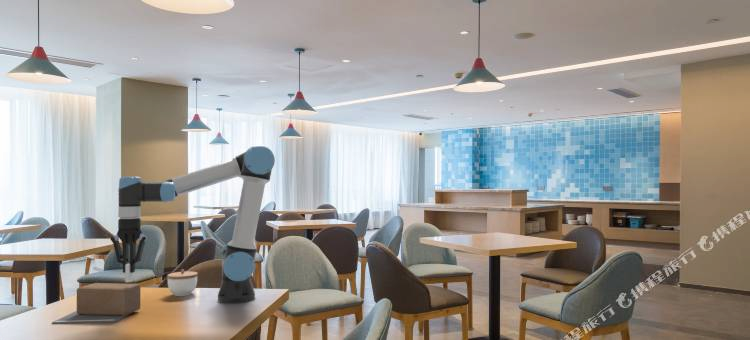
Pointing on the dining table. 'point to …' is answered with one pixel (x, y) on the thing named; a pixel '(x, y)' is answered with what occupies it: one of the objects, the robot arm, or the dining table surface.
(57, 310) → the dining table surface
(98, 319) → the mat
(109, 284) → the wooden block
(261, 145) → the robot arm
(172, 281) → the lidded bowl
